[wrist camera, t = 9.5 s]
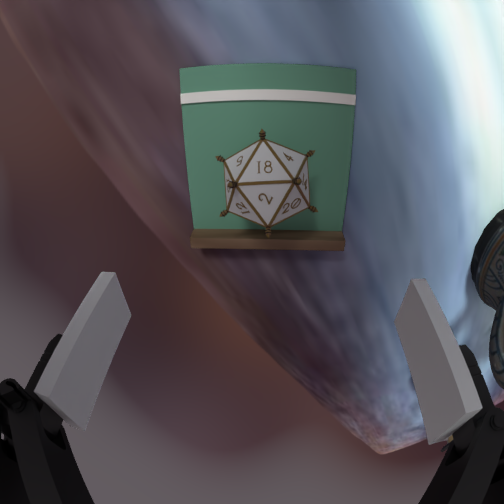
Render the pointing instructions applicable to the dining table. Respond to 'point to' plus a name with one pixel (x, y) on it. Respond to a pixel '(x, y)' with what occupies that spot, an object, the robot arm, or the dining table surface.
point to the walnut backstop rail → (267, 239)
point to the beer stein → (492, 287)
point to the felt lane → (268, 133)
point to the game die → (266, 183)
